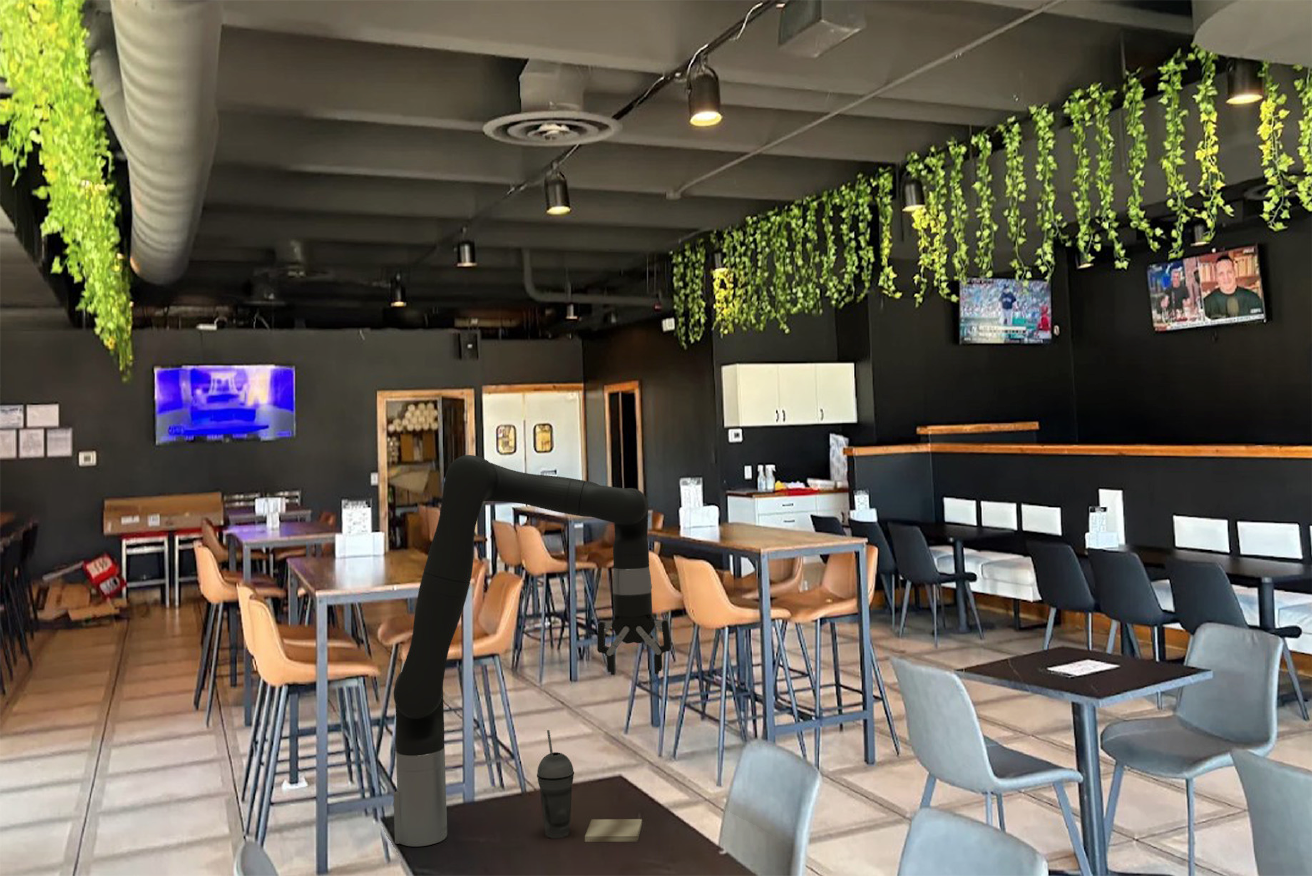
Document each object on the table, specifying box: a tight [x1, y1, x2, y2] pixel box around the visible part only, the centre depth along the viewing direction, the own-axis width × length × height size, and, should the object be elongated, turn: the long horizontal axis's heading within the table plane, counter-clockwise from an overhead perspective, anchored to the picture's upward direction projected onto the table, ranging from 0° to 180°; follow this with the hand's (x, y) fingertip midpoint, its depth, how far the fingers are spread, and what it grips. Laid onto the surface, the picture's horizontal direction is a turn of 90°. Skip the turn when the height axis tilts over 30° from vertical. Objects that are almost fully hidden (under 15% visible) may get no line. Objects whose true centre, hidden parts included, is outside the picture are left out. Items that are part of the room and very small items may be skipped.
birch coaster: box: [584, 818, 643, 843], centre depth 197 cm, size 10×9×1 cm
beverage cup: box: [536, 729, 575, 839], centre depth 198 cm, size 7×7×20 cm
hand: (635, 673), depth 199 cm, fingers open, 8 cm apart
